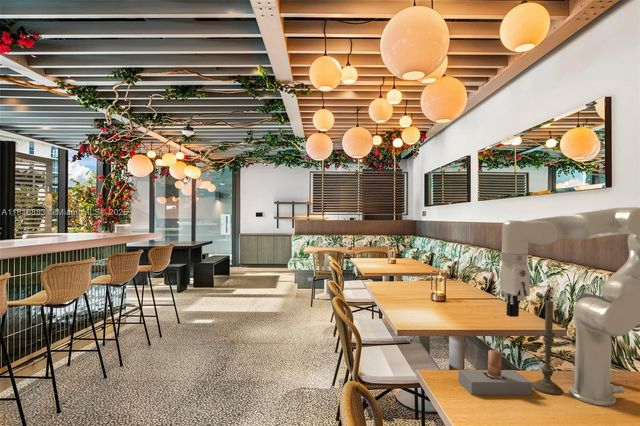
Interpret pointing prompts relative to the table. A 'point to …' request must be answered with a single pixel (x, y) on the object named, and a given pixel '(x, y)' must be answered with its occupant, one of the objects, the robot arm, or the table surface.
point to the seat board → (495, 383)
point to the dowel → (494, 364)
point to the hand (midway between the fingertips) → (512, 315)
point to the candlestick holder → (548, 356)
